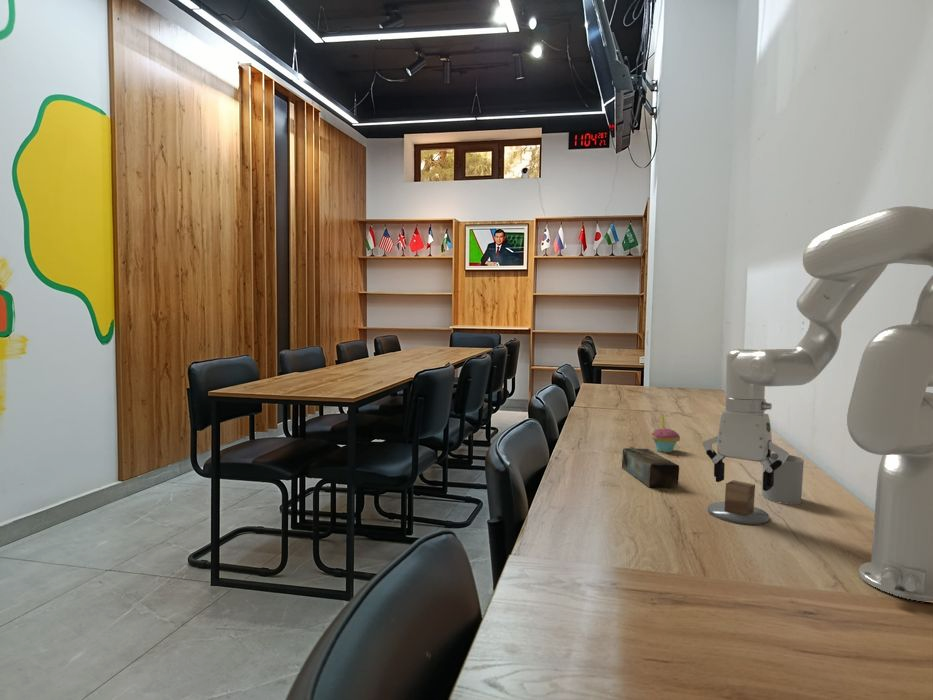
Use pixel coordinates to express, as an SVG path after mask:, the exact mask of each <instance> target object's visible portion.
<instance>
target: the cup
mask: <svg viewBox="0 0 933 700" xmlns="http://www.w3.org/2000/svg"><path fill="white" fill-rule="evenodd" d="M777 459H778V454H776V453H775V452H772V456H771V458H770V460H771V461H772V462H773V463H774V462H775V461H776V460H777ZM804 461H805V459H803V458H801V457H800V456H796V455H792V454H789V456H788V457H787V459H786V460H785V461H784V463H783V465H781V466H780V467H779V468H777V469H776V470H774V485H773V487H771V489H770V490H768V491H764V490H763V472H765V468H764V467H763V466H762V475H761V490H760V491H761V492H760V496H761V495H762V496H763V497H764V498H766V499H765V500H767V499H768V500H767V501H769V500H770V502H772V501H774V502H773V503H776V502H781V503H780V504H782V503H787V504H786V505H798V504H801V502H802V495H803V493H802V492H803V480H804V479H803V476H804V466H805V465H804V464H805V462H804ZM762 496H761V497H762ZM763 497H762V498H763ZM764 498H763V499H764Z"/></svg>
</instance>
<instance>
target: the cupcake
mask: <svg viewBox="0 0 933 700" xmlns="http://www.w3.org/2000/svg"><path fill="white" fill-rule="evenodd" d="M663 414H664V413H663V412H661V424H662V425H661V427H662V428H658V429H656V430H654V431H653V432H652V433H651V435H652V436H651V439H652V440H653V442H654V444H655V447H656V451H658V452H661V451H664V452H663V453H672V452H673V451H674V448H675V446H676V444H677V442H680V440H681V436H680V434H679V433H678V432H676V431H675V430H673V429H670V428H666V427H665V416H664V415H663ZM671 451H672V452H671Z"/></svg>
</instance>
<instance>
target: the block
mask: <svg viewBox="0 0 933 700" xmlns="http://www.w3.org/2000/svg"><path fill="white" fill-rule="evenodd" d="M755 492H756V485H755V484H754V483H749V482H746V481H740V480H736V479H733V480H731V481H729V482H727V483H725V494H724V502H725V509H724V511H727V512H731V513H735V514H739V515H743V516H747V515H749V514H751V513H752V512H754V507H755V496H756V494H755Z"/></svg>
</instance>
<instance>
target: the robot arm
mask: <svg viewBox="0 0 933 700" xmlns="http://www.w3.org/2000/svg"><path fill="white" fill-rule="evenodd" d="M806 245H807V246H806V247H805V249H804V252H803V254H802V265H803V268H804V270H805V272H806V273H807V274H808V275H810V276H811V277H812V279H811V280H810V281H809V283H808V284H807V286H805V288H804V290H803V292H802V293H801V294H800V295H799V296H798V298H797V300H796V308H797V310H798V311H799V312H800V314H801V315H802V316H803V317H805V318H806V319H807V320H809V325H808V328H807V331H806V333H805V335H804V336H803V337H802V338H801V340H800V341H798V344H797V345H796V346H795V347H794V348H776V349H775V348H771V349H769V348H768V349H767V348H766V349H748V348H747V349H743V348H742V349H741V348H740V349H739V348H736V349H735V348H734V349H731V350H729V351H728V353H727V354H726V370H725V371H726V373H725V375H726V377H725V410H723V411H722V412H721V415H720V419H719V423H718V424H719V425H718V431H717V436H714V437H712V438H709V439H706V440H703V441H702V446H703V449H704V450H705V453H706V455H707V456H708V457H709V458H710V460H711V462H712V464H713V465H714V466H713V476H714V477H715V482H717V483H721V482H722V481H724V480H725V465H726V464H725V462H724V461H723V460H724V459H726V458H731V459H737V460H744V461H751V462H756V463H757V462H759V463H760V464H761V466H762V468H763V467H764V468H765V472H763V471H762V473H763V490H764V491H768V490H770V489H771V487H773V485H774V470H776V469H777V468H779V467H780V466H781V465H783V463H784V461H785V460H786V459H787V457H788V456H789V455H790V453H789V451H787V450H785V449H784V448H782V447H780V446H778V445H777V444H775V443H774V442H773V438H772V429H771V428H772V426H771V421H770V415H769V413H765V412H766V411H767V410H772V407H773V406H772V405H773V404H772V403H771V402H770V403H769V402H766V399H765V393H766V392H765V390H766V389H765V388H766V387H768V388H769V387H789V386H791V387H792V386H804V385H806V384H809V383H810V382H812V381H813V380H814V379H816V378H817V377H818V376H819V375H820V374H821V373H823V371H824V369H826V367H827V366H828V364H830V362H831V361H832V360H833V358H834V357H835V355H836V354H837V353H838V349H839V346H840V342H841V338H842V324H843V323H844V321H845V320H846V318H848V316H849V314H851V312H852V311H853V310H854V308H855V307H856V306H857V305H858V303H859V302H861V300H862V298H863V297H864V296H865V294H866V293H867V292H868V291H869V290H870V288H872V286H873V285H874V283H875V282H877V280H878V279H879V277H881V275H882V274H883V272H884V271H885V270H886V268H887V266H888V265H890V264H891V265H892V264H903V265H905V264H906V265H917V266H918V265H920V266H928V267H931V268H933V208H926V207H920V206H919V207H918V206H910V205H906V206H904V205H902V206H894V207H889V208H885V209H883V210H879V211H875V212H874V213H871V214H868V215H865V216H863V217H859V218H857V219H854V220H852V221H848V222H845V223H842V224H840V225H837V226H833V227H832V228H828V229H827V230H826V229H825V231H822V232H821V233H819V234H817V235H816V236H815V237H813V239H811V240H810V242H809V243H808V244H806ZM930 387H931V388H933V274H932V275H931V276H930V278H929V279H928V280H927V282H926V284H925V285H924V286H923V288H922V290H921V291H920V294H919V297H918V300H917V303H916V309H915V311H914V314H913V317H912V319H911V322H910V323H909V324H907V323H906V324H896V325H892V326H889V327H886V328H883V330H880V331H879V332H878V333H876V334H875V335H874V336H872V338H871V339H870V340H869V342H868V344H867V345H866V346H865V348H864V350H863V353H862V355H861V359H860V362H859V366H858V371H857V373H856V377H855V381H854V385H853V389H852V391H851V395H850V396H851V397H850V401H849V404H848V407H847V408H848V409H847V415H846V426H847V430H848V432H849V435H850V438H851V439H852V440H853V442H854V443H855V444H856V445H857V446H858V447H859V448H860V449H862V450H863V451H865V452H868V453H871V454H872V455H876V456H877V455H878V456H881V459H880V462H879V465H878V471H877V476H876V477H877V480H876V487H875V488H876V489H875V491H876V492H875V504H874V519H873V533H872V546H871V547H872V549H871V561H868V562H864V563H862V564H860V565H859V568H858V573H859V576H860V578H861V579H862V580H863V581H864V582H866V584H869V586H872V587H874V588H875V587H876V588H875V589H877V588H878V589H877V590H879V589H880V590H879V591H882V592H884V591H885V592H884V593H886V592H887V594H889V593H890V594H889V595H892V594H893V595H892V596H896V597H898V596H899V597H898V598H901V597H902V599H905V598H906V600H909V599H911V600H910V601H913V600H919V601H933V392H930V391H926V390H927V389H928V388H930ZM714 444H716V449H717V452H716V451H715V450H714V449H713V445H714ZM772 453H776V454H778V459H777V460H776V461H775V462H774V463H773V462H772V461H771V460H770V458H771V456H772Z"/></svg>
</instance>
